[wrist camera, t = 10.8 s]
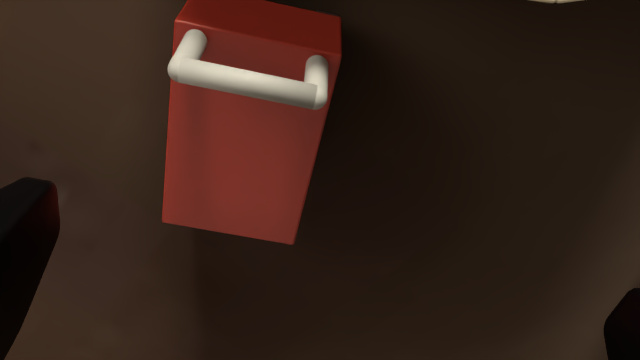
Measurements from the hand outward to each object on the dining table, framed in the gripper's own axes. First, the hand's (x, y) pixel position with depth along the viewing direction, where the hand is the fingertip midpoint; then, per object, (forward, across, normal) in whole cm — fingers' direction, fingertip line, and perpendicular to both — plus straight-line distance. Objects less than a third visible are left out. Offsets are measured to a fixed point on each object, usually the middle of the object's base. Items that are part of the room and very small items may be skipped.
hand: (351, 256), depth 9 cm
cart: (+12, +2, +4) cm, 12 cm away
